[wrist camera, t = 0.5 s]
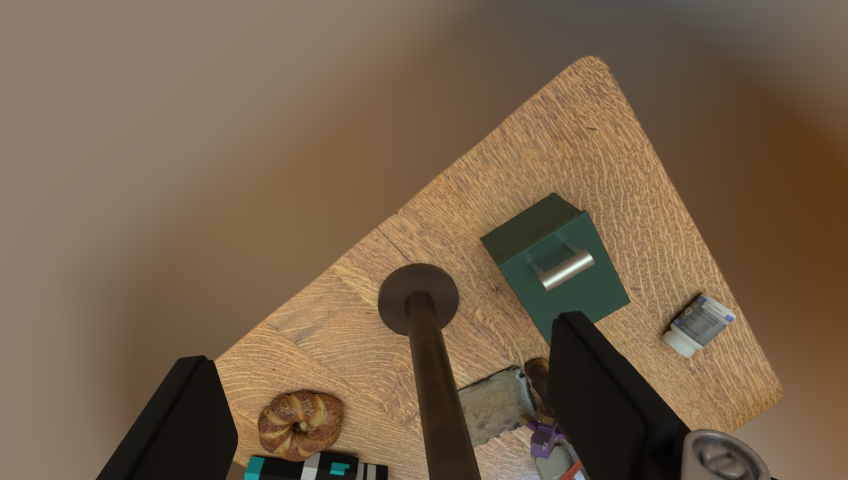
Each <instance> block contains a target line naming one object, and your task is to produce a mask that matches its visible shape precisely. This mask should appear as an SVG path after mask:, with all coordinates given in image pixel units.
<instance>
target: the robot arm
mask: <svg viewBox="0 0 848 480" xmlns="http://www.w3.org/2000/svg"><path fill="white" fill-rule="evenodd" d="M547 397H548V401H549V403H550V406H551V407H552V409H553V411H554V413H555V415H556V417H557V419H558V420H559V422H560V424H561V426H562V428H563V430H564V431H565V433H566V435H567V437H568V439H569V441H570V443H571V444H572V446H573V448H574V450H575V452H576V454H577V455H578V457H579V459H580V461H581V463H582V465H583V466H584V468H585V470H586V472H587V474H588V476H589V478H590V479H591V480H777V479H775V478H772V477H770V473H769V470H768V468H767V465H766V464H765V462H764V461H763V460H762V458H761V457H760V456H759V455H758V454H757V453H756V452H755V451H754V450H753V449H752V448H750V447H749V446H748V445H747V444H745V443H743V442H742V441H740V440H739V439H737V438H735V437H733V436H730V435H728V434H726V433H724V432H720V431H716V430H712V429H698V430H694V431H691V430H690V429H689V428H688V427H687V426H686V425H685V424H684V422H683V421H682V420H681V419H680V418H679V417H678V416H677V415H676V414H675V412H674V411H673V410H672V409H671V408H670V407H669V406H668V405H667V403H666V402H665V401H664V400H663V399H662V398H661V397H660V396H659V395H658V393H657V392H656V391H655V390H654V389H653V388H652V387H651V386H650V385H649V383H648V382H647V381H646V380H645V379H644V378H643V377H642V376H641V375H640V373H639V372H638V371H637V370H636V369H635V368H634V367H633V366H632V365H631V363H630V362H629V361H628V360H627V359H626V358H625V357H624V356H623V355H621V354H619V352H618V351H617V350H616V349H615V348H614V347H613V346H612V345H611V343H610V342H609V341H608V340H607V339H606V338H605V337H604V336H603V334H602V333H601V332H600V331H599V330H598V329H597V328H596V327H595V325H594V324H593V323H592V322H591V321H590V320H589V319H588V318H587V316H586V315H585V314H584V313H583V312H582V311H571V312H562V313H560V314H559V315H558V318H556V319H554V320H553V323H552V334H551V346H550V357H549V369H548V381H547ZM237 445H238V433H237V430H236V427H235V424H234V421H233V418H232V415H231V411H230V408H229V405H228V402H227V399H226V396H225V393H224V390H223V387H222V384H221V381H220V378H219V375H218V372H217V369H216V366H215V363H214V361H213V360H208V359H207V358H206V357H205V356H203V355H201V356H192V357H185V358H180V359H178V360H177V361H176V363H175V364H174V366H173V367H172V369H171V370H170V372H169V373H168V374H167V376H166V377H165V379H164V380H163V382H162V383H161V385H160V386H159V388H158V389H157V391H156V392H155V393H154V395H153V396H152V398H151V399H150V401H149V402H148V404H147V405H146V407H145V408H144V410H143V411H142V412H141V414H140V415H139V417H138V418H137V420H136V421H135V423H134V424H133V426H132V427H131V429H130V430H129V432H128V433H127V435H126V436H125V437H124V439H123V440H122V442H121V443H120V445H119V446H118V448H117V449H116V451H115V452H114V454H113V455H112V456H111V458H110V459H109V461H108V462H107V464H106V465H105V467H104V468H103V470H102V471H101V473H100V474H99V476H98V477H97V478H96V480H225V479H226V476H227V474H228V471H229V468H230V465H231V463H232V460H233V457H234V454H235V452H236V449H237Z"/></svg>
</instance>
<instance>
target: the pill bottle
mask: <svg viewBox="0 0 848 480" xmlns="http://www.w3.org/2000/svg"><path fill="white" fill-rule="evenodd" d="M735 318H736V315H735V314H734V313H733V312H731V311H730V310H729V309H727V308H726V307H725V306H723V305H722V304H720V303H719V302H717V301H716V300H715V299H713V298H712V297H710V296H709V295H707V294H705V293H702V294H701V295H700V296H699V297H698V298H697V299H696V300H695V301H694V302H693V303H692V304H691V305H690V306H689V307H688V308H687V309H686V310H685V311H684V312H683V313H682V314H681V315H680V316H679V317H677V318H676V319H675V320H674V321H673V322H672V324H671V329H672V330H671V331H668V332H666V333H665V334H664V335H663V336H662V339H663V340H664V341H665V342H666V343H667V344H669V345H670V346H671V347H672V348H673V349H675V350H676V351H677V352H679V353H680V354H681V355H683V356H684V357H686V358H689V357H690V356H691V355H692V354H693V353H694V352H695V350H694V349H703V348H704V347H705V346H706V345H707V344H709V343H710V342H711V341H712V340H713V339H714V338H715V337H716V336H717V335H718V334H719V333H720V332H721V331H722V330H723V329H724V328H726V327H727V326H728V325H729V324H730V323H731V322H732V321H733V320H734V319H735Z"/></svg>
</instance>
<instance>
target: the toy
mask: <svg viewBox="0 0 848 480" xmlns="http://www.w3.org/2000/svg"><path fill="white" fill-rule="evenodd" d="M358 462H359V458H354V457H347V456H339V455H332V454H325V453H315V454H314V455H313V456H311V457H310V458H309V459H307V460H305V463H298V462H290V461H283V460H275V459H267V458H260V457H252V456H251V459H250V461H249V464H248V467H247V469H246V472H245V477H244V480H388V467H386V466H378V465H371V464H364V463H358Z"/></svg>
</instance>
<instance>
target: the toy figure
mask: <svg viewBox="0 0 848 480" xmlns="http://www.w3.org/2000/svg"><path fill="white" fill-rule="evenodd" d="M518 420H519V421H520V422H521V423H522V424H524V425H525V426H527V427H528V428H530V429H531V430H533V431H534V434H533V435H532V437H531V442H530V445H531V455H534V456H537V457H540V458H543V459H547V460H548V458H549V455H550V453H551V450H552V448H553V447H554V441H555V438H556V436H557V435H558V439H565V437H564V436H563V434H562V433H561V432H560V430H559V428H558V423H557V420H556V418H555V416H554V415H553V414H552V413H551V412H550V411H549V410H545V413H544V415H543V417H542V419H541V421H540V423H539V422H538V421H536V420H535V418H534V417H533V416H531V415H530V414H529V413H525V414H522V415H520V416H519V418H518ZM537 430H538V431H537Z"/></svg>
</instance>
